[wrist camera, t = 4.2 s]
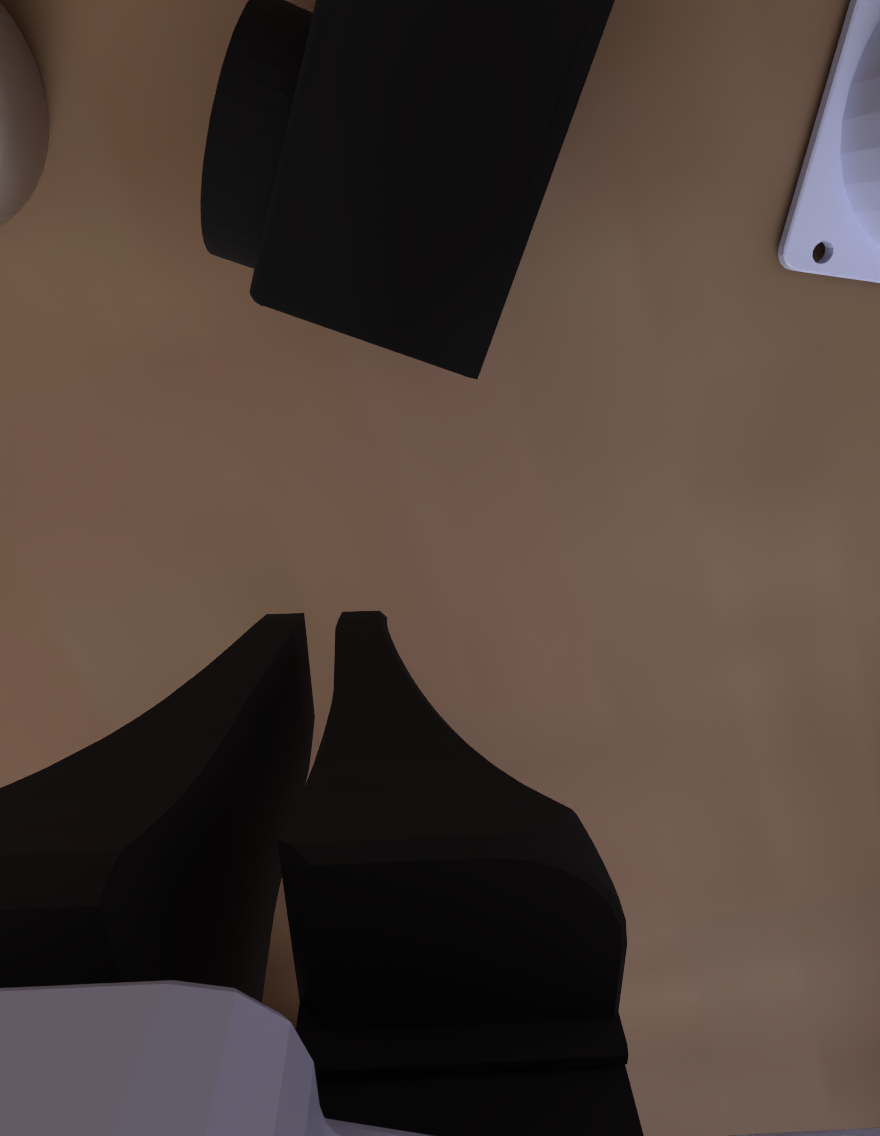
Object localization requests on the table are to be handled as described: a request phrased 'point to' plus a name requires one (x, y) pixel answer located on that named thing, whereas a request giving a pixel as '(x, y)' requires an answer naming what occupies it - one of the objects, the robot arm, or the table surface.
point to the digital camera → (392, 159)
